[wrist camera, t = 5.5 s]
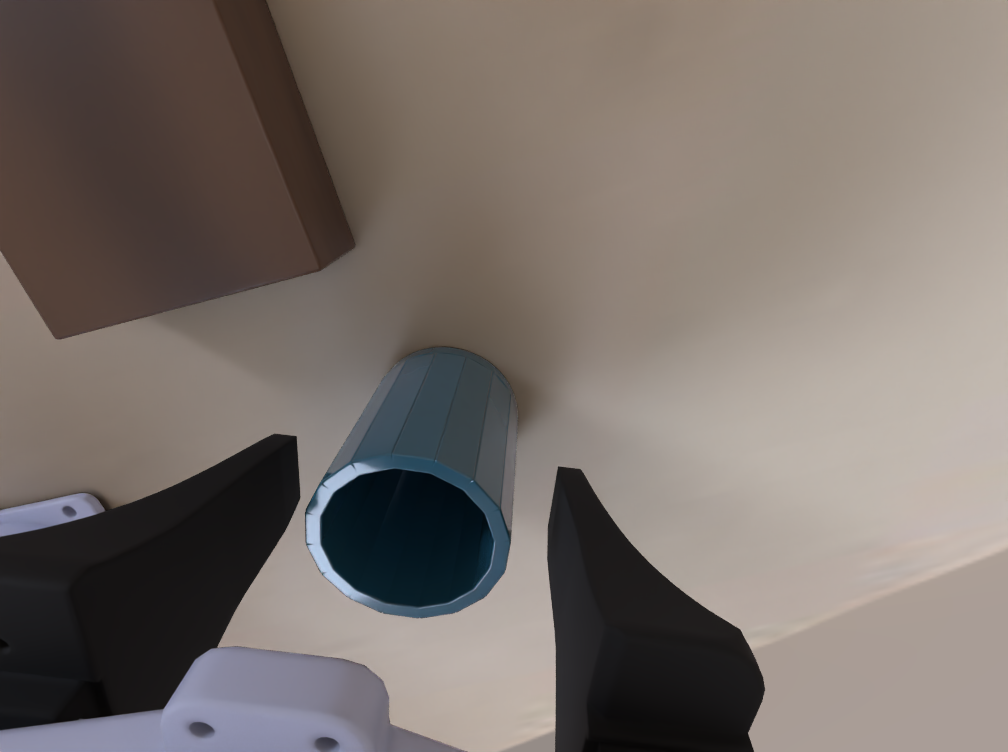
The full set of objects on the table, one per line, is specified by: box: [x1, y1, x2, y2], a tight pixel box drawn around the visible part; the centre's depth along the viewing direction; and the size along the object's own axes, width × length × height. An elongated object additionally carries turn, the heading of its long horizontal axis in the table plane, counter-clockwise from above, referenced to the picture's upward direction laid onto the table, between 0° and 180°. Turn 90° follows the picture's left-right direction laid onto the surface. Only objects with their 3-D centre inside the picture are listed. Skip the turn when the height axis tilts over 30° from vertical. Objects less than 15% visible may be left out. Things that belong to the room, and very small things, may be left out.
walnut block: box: [0, 0, 355, 339], centre depth 14 cm, size 8×8×3 cm
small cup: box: [305, 347, 518, 618], centre depth 16 cm, size 5×5×6 cm
